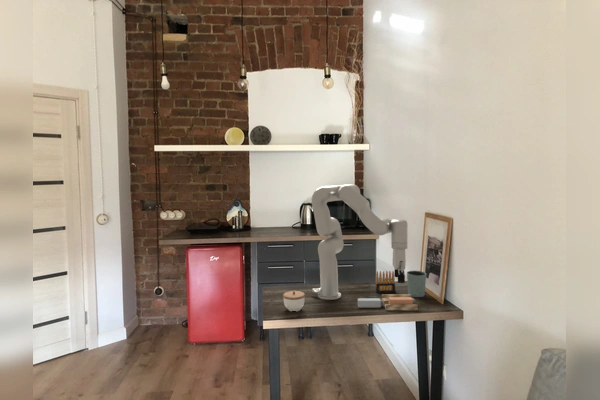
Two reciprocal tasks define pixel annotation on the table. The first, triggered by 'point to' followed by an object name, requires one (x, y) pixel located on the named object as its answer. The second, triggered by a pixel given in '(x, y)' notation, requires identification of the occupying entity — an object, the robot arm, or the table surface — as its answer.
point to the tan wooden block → (401, 300)
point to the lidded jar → (294, 300)
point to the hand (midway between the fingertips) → (399, 279)
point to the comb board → (397, 306)
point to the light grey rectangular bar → (370, 302)
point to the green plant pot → (416, 283)
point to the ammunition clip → (385, 282)
